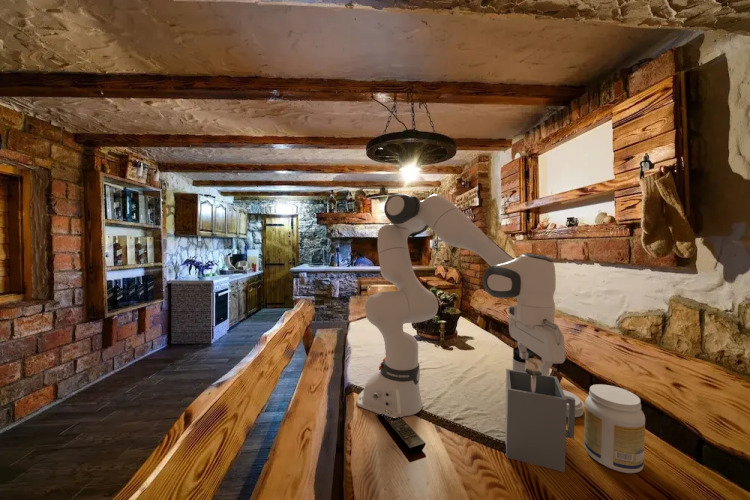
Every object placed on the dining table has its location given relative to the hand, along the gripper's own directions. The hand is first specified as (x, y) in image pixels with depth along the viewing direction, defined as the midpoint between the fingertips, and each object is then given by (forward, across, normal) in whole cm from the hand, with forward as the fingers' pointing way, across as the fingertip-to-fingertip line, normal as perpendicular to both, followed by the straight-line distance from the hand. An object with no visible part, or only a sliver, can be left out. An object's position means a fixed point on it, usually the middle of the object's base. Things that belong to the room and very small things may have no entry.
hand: (533, 365), depth 80 cm
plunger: (+21, 0, 0) cm, 21 cm away
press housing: (+23, -1, -2) cm, 23 cm away
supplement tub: (+23, -5, -19) cm, 30 cm away
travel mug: (+23, +18, -8) cm, 30 cm away
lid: (+23, +18, -21) cm, 36 cm away
